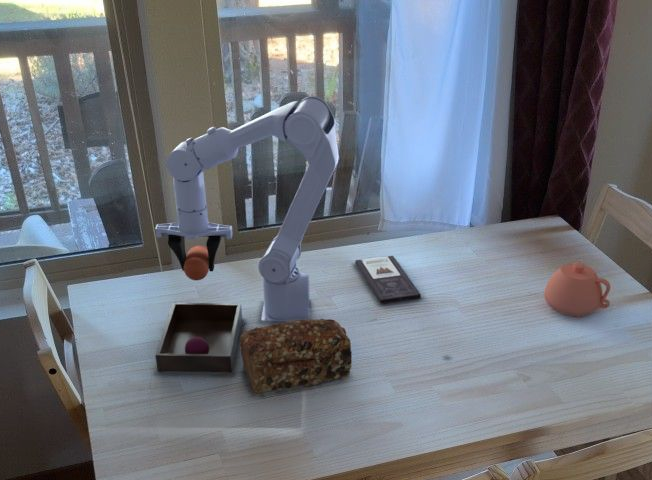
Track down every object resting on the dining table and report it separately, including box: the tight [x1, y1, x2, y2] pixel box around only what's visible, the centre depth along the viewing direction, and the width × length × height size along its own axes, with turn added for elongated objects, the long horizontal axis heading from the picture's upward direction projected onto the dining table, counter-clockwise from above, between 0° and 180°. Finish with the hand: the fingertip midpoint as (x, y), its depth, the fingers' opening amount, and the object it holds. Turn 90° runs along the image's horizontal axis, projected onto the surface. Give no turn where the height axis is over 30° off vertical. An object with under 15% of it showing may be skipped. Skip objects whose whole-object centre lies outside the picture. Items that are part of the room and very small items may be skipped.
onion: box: [185, 337, 209, 354], centre depth 153 cm, size 4×4×4 cm
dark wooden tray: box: [154, 302, 243, 373], centre depth 158 cm, size 13×18×4 cm
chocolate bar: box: [355, 255, 422, 305], centre depth 182 cm, size 9×1×18 cm
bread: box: [239, 318, 353, 394], centre depth 150 cm, size 19×11×10 cm, turn 111°
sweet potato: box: [183, 244, 209, 281], centre depth 166 cm, size 9×5×5 cm, turn 3°
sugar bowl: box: [543, 261, 611, 318], centre depth 174 cm, size 12×14×10 cm
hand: (198, 268), depth 167 cm, fingers closed on sweet potato, 5 cm apart
